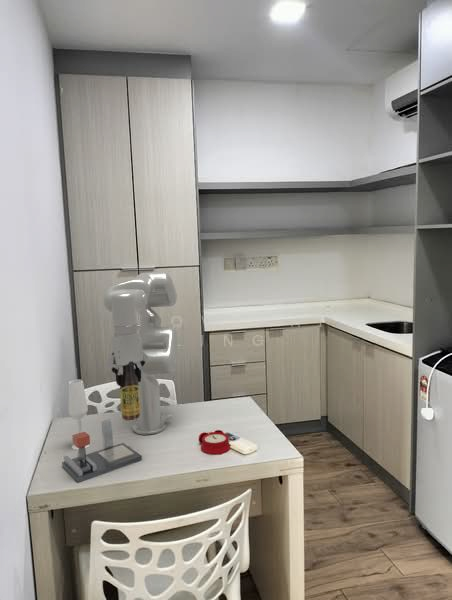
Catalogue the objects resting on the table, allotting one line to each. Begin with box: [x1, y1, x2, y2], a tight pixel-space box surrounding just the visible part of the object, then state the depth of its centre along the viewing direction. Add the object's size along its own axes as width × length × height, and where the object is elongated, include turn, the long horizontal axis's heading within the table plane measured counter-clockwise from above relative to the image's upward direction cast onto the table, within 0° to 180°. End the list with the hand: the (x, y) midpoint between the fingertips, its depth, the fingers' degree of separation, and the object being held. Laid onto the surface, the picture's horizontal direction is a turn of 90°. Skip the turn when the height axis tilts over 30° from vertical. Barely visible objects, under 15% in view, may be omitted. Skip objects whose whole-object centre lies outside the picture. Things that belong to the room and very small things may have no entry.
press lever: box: [71, 431, 91, 473], centre depth 148 cm, size 4×5×11 cm
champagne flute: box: [68, 379, 91, 450], centre depth 169 cm, size 7×7×24 cm
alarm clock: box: [198, 429, 232, 456], centre depth 166 cm, size 10×6×15 cm
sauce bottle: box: [119, 361, 140, 421], centre depth 156 cm, size 7×6×20 cm
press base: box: [61, 419, 143, 484], centre depth 155 cm, size 22×14×12 cm, turn 128°
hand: (129, 382), depth 156 cm, fingers closed on sauce bottle, 5 cm apart
